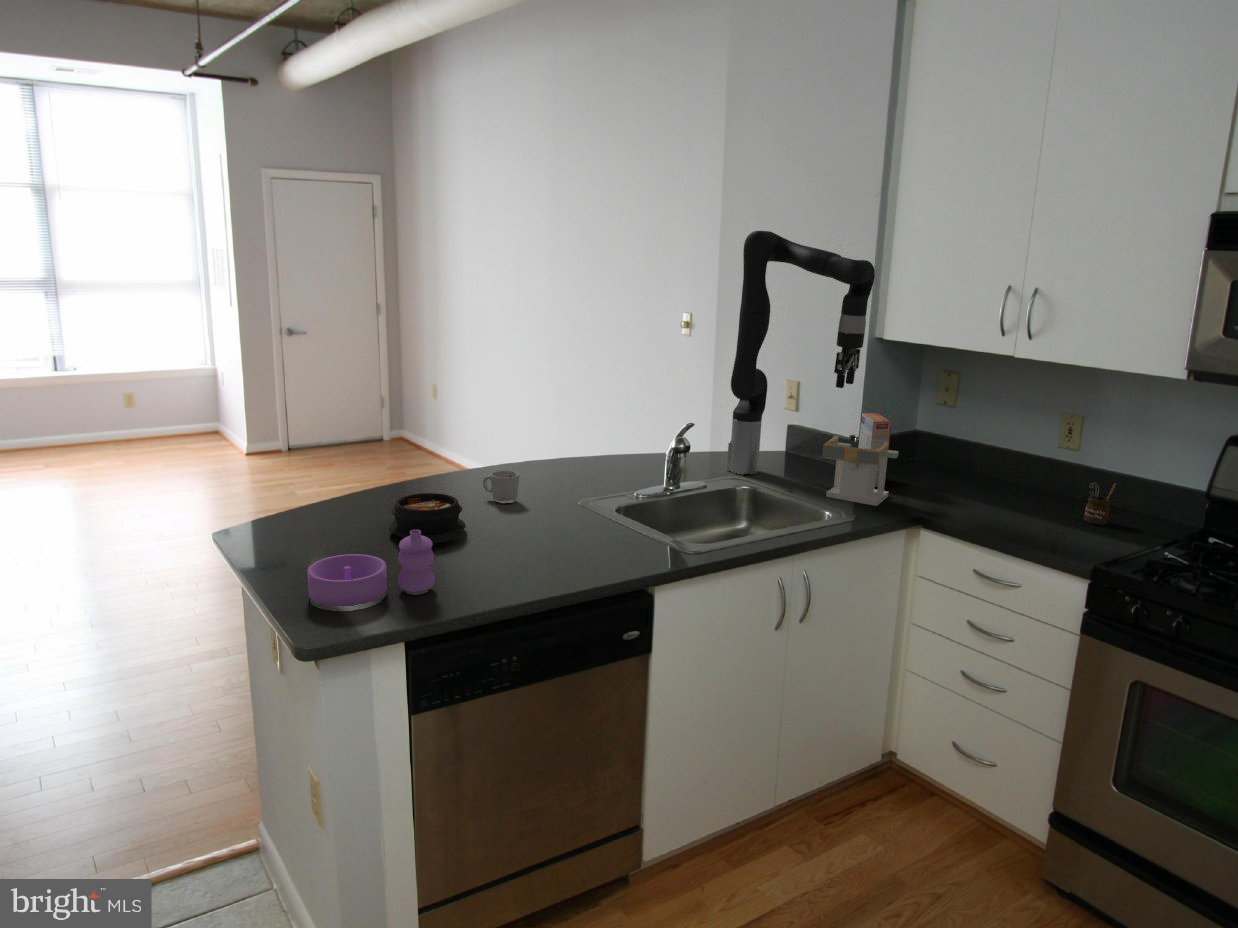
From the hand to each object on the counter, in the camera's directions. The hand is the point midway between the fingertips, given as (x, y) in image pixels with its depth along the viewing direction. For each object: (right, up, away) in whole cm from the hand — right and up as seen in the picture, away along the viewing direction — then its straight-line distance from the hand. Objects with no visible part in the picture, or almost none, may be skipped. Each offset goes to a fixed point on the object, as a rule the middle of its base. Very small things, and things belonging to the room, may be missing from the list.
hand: (844, 385), depth 262 cm
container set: (-117, -50, -79) cm, 150 cm away
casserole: (-114, -40, -42) cm, 128 cm away
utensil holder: (+66, -39, -15) cm, 78 cm away
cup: (-99, -34, -14) cm, 106 cm away
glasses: (+3, -21, 0) cm, 21 cm away
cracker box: (+13, -29, +19) cm, 37 cm away
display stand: (+4, -33, +1) cm, 33 cm away
